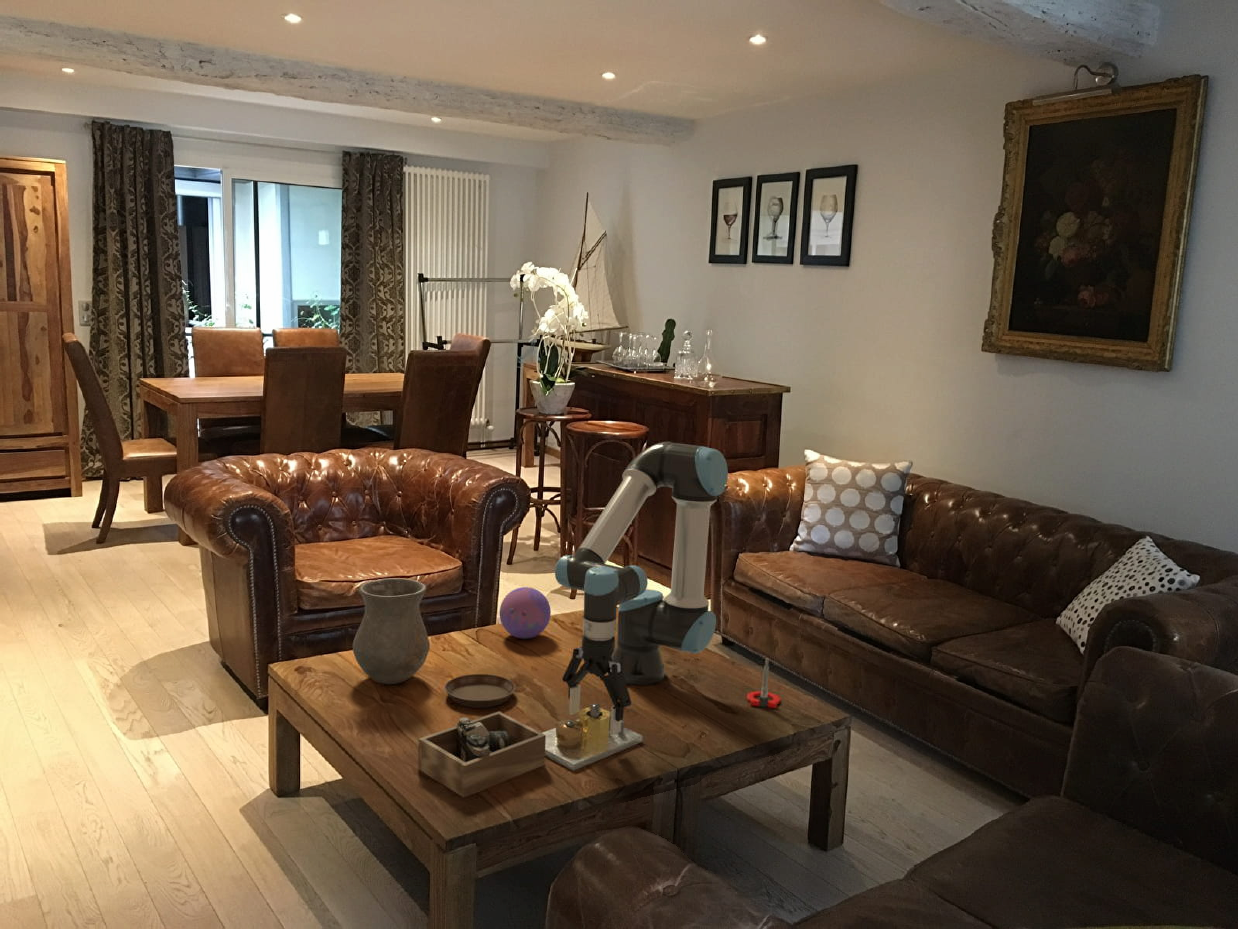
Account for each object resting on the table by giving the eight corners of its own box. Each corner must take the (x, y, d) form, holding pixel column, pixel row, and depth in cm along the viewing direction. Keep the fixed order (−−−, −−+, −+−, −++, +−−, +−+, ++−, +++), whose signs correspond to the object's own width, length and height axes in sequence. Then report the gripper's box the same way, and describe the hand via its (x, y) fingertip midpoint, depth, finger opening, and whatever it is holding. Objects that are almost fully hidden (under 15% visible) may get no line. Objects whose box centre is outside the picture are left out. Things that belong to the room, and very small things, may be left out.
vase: (337, 684, 261) (337, 590, 256) (381, 660, 278) (382, 572, 274) (402, 700, 253) (403, 603, 249) (443, 674, 271) (445, 583, 266)
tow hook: (747, 694, 270) (746, 706, 261) (751, 646, 268) (750, 657, 259) (779, 697, 268) (779, 710, 259) (783, 650, 267) (784, 661, 258)
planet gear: (572, 733, 236) (572, 713, 236) (593, 724, 241) (594, 705, 241) (593, 743, 232) (594, 723, 231) (614, 734, 237) (615, 714, 236)
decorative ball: (492, 642, 296) (494, 593, 293) (506, 626, 310) (508, 578, 308) (542, 648, 293) (544, 598, 291) (554, 631, 308) (556, 583, 305)
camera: (519, 777, 215) (520, 732, 214) (472, 786, 211) (472, 740, 210) (496, 748, 230) (496, 706, 228) (451, 756, 225) (451, 712, 224)
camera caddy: (418, 769, 219) (418, 738, 217) (498, 740, 234) (499, 711, 233) (463, 797, 208) (464, 765, 207) (544, 765, 224) (545, 735, 222)
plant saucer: (458, 680, 268) (458, 669, 268) (523, 688, 265) (523, 677, 264) (434, 707, 251) (434, 695, 250) (503, 716, 248) (503, 704, 247)
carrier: (525, 745, 232) (526, 710, 231) (594, 719, 248) (595, 686, 247) (573, 770, 222) (574, 734, 220) (642, 741, 237) (644, 707, 236)
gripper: (549, 624, 238) (546, 709, 242) (626, 654, 221) (621, 746, 225) (573, 617, 244) (569, 701, 247) (650, 647, 227) (644, 736, 230)
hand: (594, 723), depth 236 cm, fingers open, 13 cm apart
